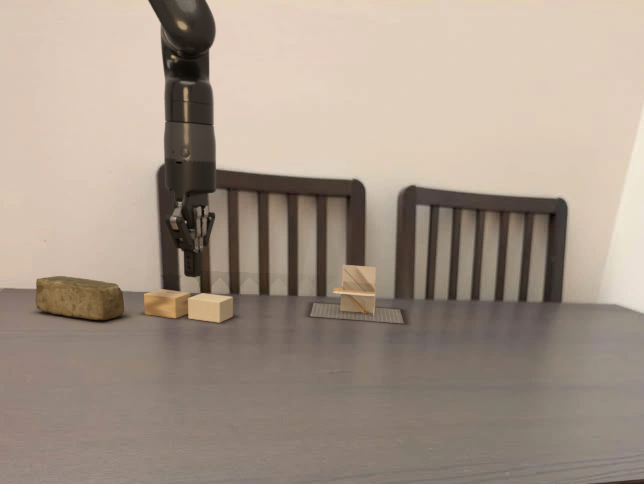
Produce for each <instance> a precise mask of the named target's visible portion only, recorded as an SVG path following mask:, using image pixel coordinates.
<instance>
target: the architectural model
mask: <svg viewBox="0 0 644 484" xmlns="http://www.w3.org/2000/svg"><path fill="white" fill-rule="evenodd" d="M341 273H342V274H341V287H333V292H332V293H333V294H337V295H338V294H340V304H334V303H333V304H331V303H321V302H313V305H312V309H311V312H310V315H309V316H310V317H314V318H326V319H337V320H338V319H339V320H350V321H351V320H352V321H366V322H378V323H392V324H403V325H404V324H405V323H404V319H403V315H402V313H401V309H397V308H387V307H386V308H384V307H376V298H377V297H376V296H377V288H376V287H377V282H376V278H377V266H364V265H351V264H342V272H341Z"/></svg>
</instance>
